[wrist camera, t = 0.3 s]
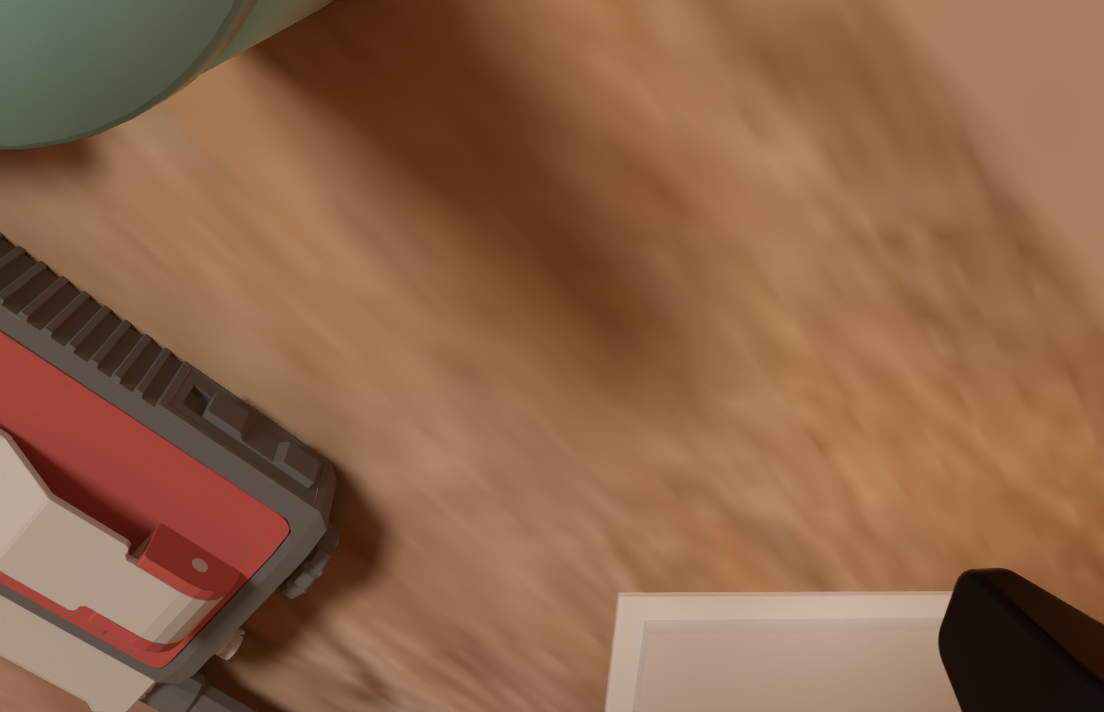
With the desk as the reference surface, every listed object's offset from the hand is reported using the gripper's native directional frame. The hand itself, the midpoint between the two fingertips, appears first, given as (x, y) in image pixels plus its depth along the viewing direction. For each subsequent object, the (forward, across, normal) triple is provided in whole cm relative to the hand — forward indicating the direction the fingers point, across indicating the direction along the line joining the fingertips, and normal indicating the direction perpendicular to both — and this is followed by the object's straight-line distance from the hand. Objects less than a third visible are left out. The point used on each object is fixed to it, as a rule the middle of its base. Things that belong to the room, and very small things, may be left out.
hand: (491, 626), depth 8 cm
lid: (+13, -11, +16) cm, 24 cm away
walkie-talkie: (+15, +7, +10) cm, 19 cm away
